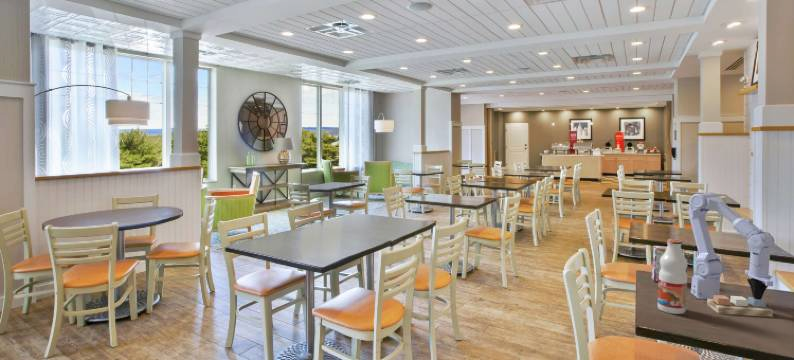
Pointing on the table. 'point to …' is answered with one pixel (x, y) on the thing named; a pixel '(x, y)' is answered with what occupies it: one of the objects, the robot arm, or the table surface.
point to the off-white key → (739, 301)
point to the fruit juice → (672, 279)
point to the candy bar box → (657, 261)
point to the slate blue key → (756, 302)
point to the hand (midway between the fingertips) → (757, 298)
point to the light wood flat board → (740, 309)
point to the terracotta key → (721, 300)
